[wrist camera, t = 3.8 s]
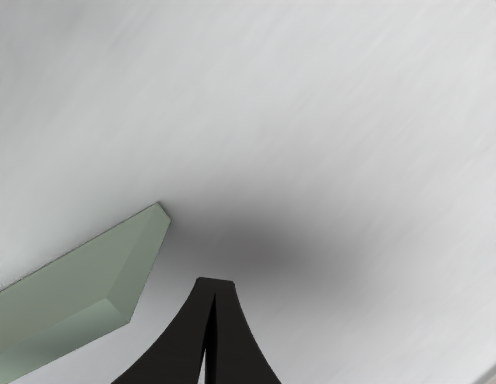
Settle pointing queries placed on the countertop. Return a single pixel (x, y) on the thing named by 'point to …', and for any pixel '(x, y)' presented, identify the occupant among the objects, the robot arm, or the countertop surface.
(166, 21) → the countertop surface
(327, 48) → the countertop surface
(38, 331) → the door
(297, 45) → the countertop surface
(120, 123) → the countertop surface
